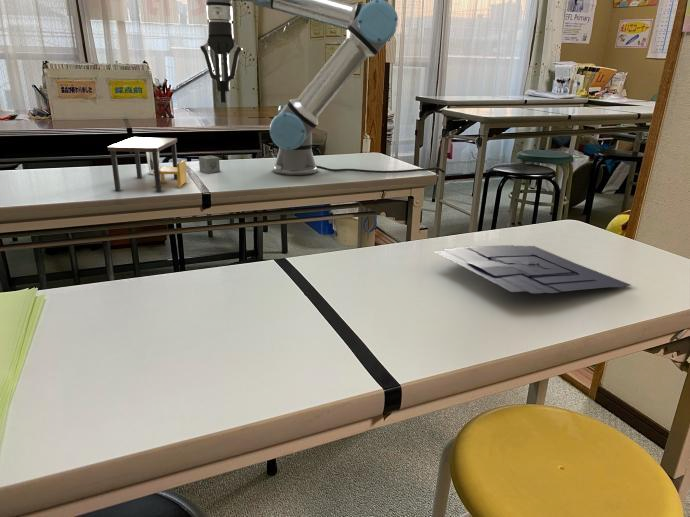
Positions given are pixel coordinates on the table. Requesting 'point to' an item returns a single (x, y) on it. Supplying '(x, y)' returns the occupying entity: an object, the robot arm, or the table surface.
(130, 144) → the little table
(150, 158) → the milkshake
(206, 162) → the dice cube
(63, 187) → the table surface
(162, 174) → the chair
